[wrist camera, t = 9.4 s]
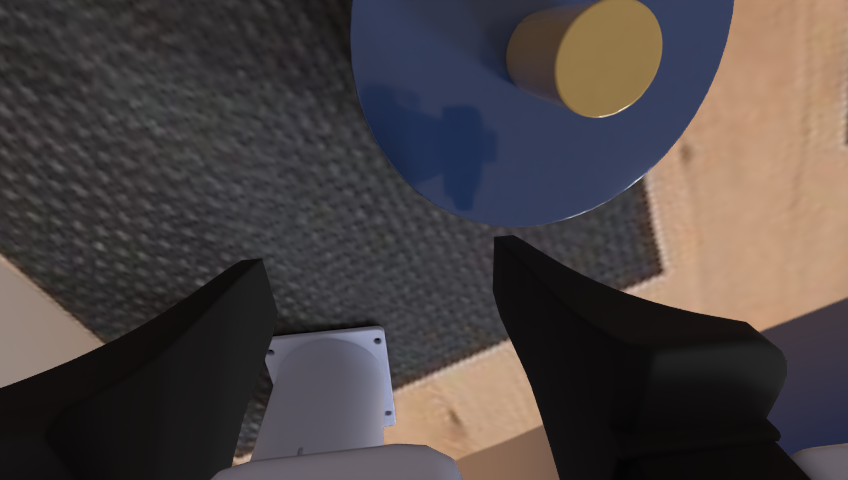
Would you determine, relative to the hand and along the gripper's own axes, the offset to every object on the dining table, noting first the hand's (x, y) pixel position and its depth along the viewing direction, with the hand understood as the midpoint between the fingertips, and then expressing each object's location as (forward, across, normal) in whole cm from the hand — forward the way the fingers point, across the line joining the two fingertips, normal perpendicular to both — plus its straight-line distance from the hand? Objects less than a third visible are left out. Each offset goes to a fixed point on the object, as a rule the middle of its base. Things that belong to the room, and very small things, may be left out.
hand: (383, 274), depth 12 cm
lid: (+4, -6, -6) cm, 9 cm away
